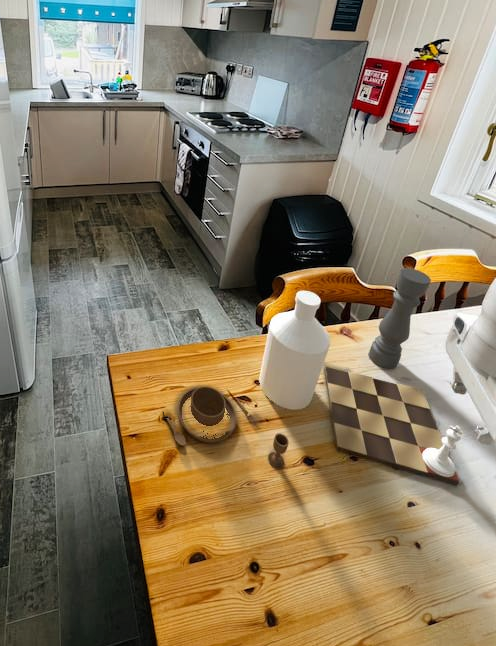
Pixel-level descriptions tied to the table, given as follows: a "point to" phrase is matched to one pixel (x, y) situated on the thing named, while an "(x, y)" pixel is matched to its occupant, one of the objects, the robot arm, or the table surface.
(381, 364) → the candle holder
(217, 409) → the place setting
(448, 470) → the chess piece
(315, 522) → the table surface
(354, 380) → the board
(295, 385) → the bottle
